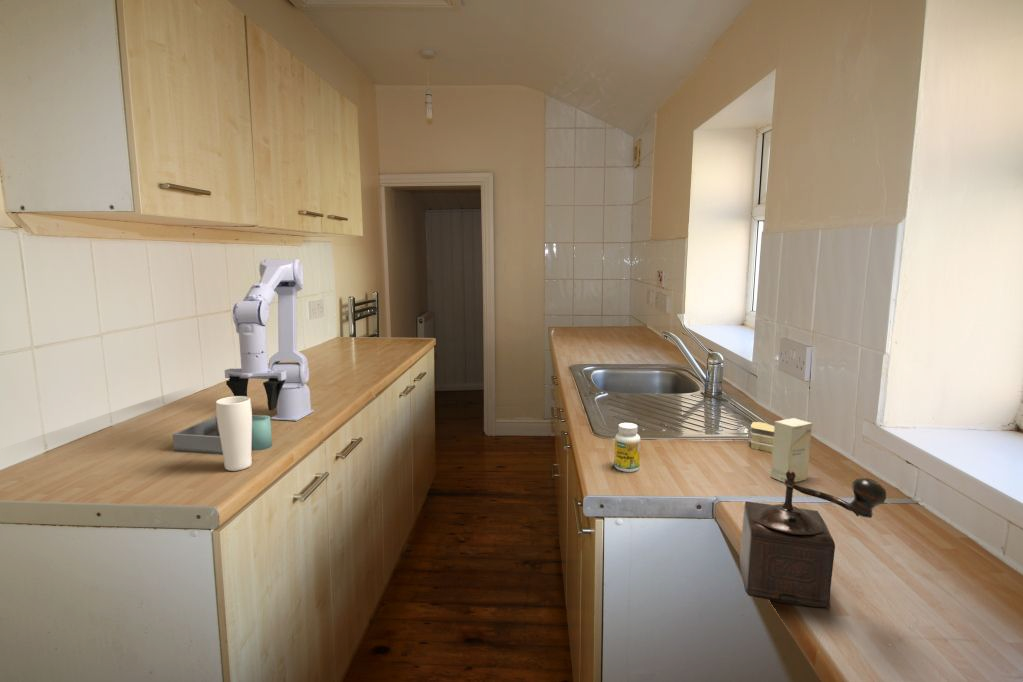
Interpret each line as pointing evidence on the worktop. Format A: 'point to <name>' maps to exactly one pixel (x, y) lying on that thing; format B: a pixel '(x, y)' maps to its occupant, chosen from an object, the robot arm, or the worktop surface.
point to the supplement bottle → (627, 448)
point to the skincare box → (791, 449)
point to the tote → (199, 438)
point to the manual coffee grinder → (796, 545)
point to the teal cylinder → (261, 432)
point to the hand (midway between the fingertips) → (257, 408)
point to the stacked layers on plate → (762, 436)
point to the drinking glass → (235, 431)
